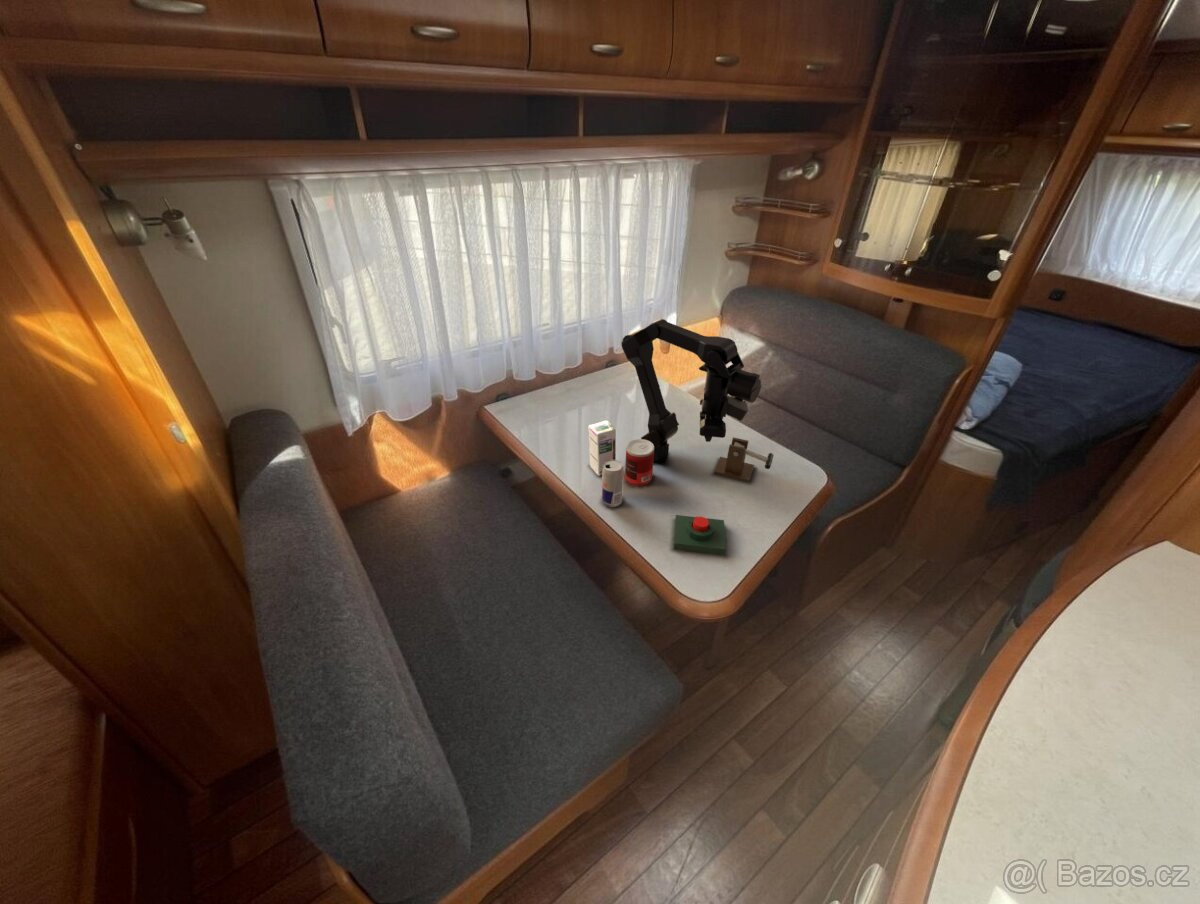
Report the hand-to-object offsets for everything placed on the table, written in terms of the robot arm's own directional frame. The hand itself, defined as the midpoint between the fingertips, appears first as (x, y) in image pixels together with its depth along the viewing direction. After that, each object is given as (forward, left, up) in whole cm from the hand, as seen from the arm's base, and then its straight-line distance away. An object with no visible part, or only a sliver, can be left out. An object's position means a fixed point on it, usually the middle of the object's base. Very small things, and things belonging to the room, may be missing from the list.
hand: (708, 440), depth 129 cm
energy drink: (-24, -14, -13) cm, 31 cm away
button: (-1, -24, -9) cm, 26 cm away
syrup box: (-29, 0, -13) cm, 32 cm away
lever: (+13, +4, -7) cm, 15 cm away
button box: (-1, -24, -13) cm, 27 cm away
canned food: (-18, -3, -13) cm, 23 cm away
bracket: (+9, +5, -13) cm, 17 cm away
